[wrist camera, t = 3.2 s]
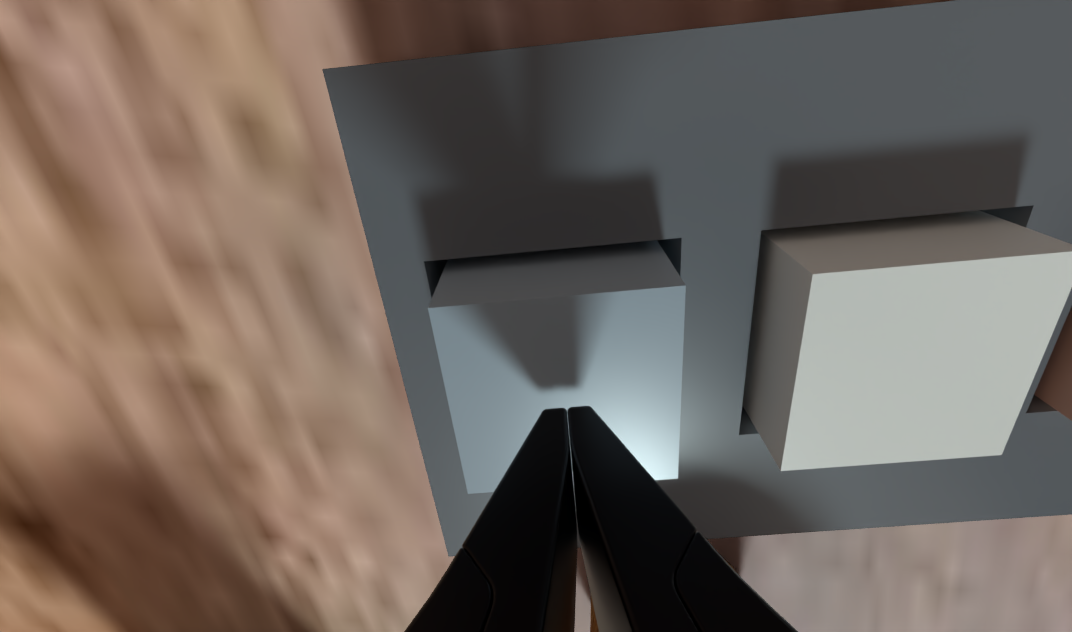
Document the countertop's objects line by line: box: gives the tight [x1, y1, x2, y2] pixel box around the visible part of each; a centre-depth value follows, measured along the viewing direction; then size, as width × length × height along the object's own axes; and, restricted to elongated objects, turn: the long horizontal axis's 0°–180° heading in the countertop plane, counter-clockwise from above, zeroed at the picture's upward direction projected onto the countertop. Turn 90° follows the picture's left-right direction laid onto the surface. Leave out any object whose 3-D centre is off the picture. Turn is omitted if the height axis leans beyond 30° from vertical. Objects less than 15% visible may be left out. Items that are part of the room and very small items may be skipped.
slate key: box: [428, 240, 686, 494], centre depth 12 cm, size 4×4×4 cm
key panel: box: [323, 0, 1072, 556], centre depth 13 cm, size 20×12×4 cm, turn 96°
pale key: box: [742, 210, 1072, 471], centre depth 11 cm, size 4×4×4 cm
